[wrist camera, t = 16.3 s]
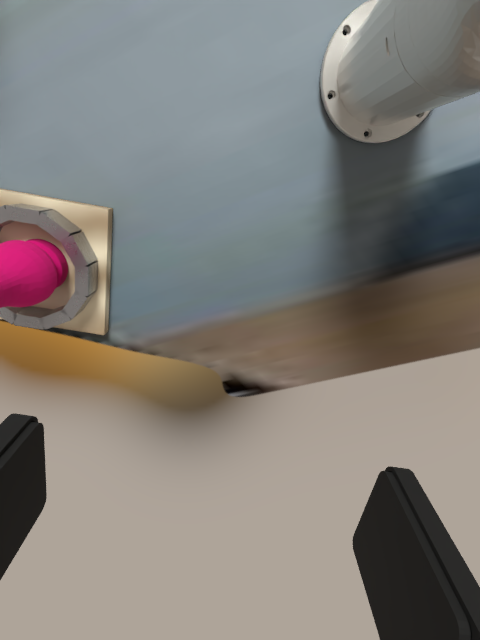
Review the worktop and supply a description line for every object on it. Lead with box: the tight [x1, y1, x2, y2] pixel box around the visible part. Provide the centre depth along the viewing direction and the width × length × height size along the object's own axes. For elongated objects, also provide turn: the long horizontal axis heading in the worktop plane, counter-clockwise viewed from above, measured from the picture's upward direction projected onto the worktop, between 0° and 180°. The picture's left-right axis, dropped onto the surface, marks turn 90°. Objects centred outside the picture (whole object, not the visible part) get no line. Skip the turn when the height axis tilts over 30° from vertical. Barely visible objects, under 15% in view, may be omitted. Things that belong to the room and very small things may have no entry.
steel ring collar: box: [0, 203, 98, 330], centre depth 42 cm, size 14×14×3 cm
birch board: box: [0, 189, 113, 335], centre depth 44 cm, size 16×16×2 cm
